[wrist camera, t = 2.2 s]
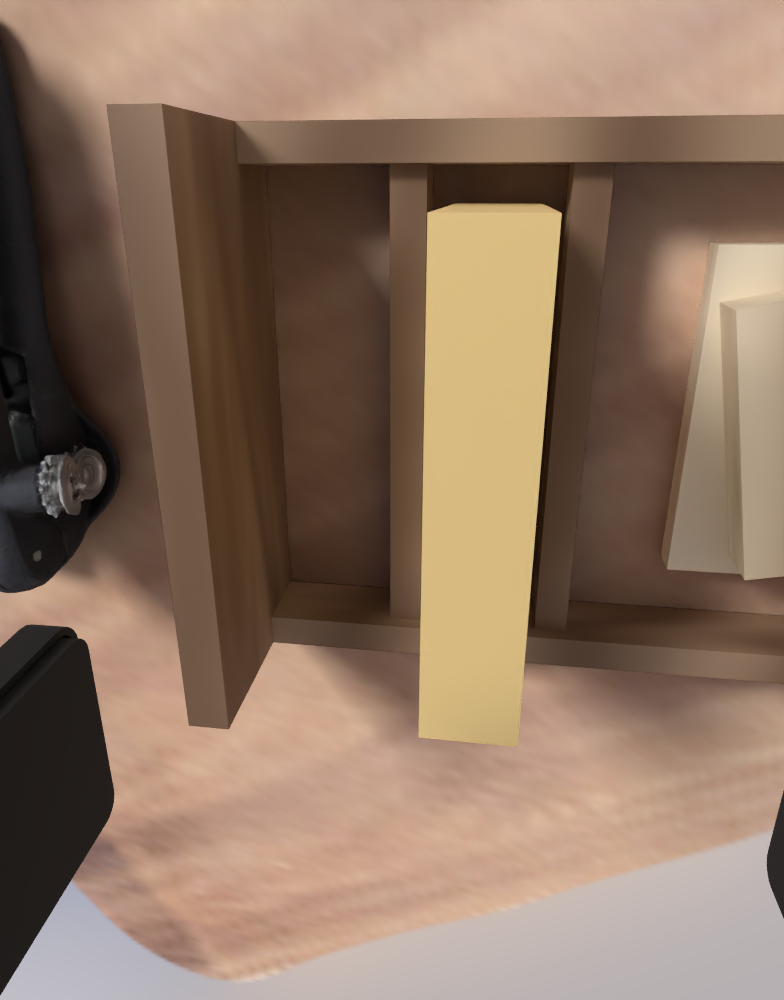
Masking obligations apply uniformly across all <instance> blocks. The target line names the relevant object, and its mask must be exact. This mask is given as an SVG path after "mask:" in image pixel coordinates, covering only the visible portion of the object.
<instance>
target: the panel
mask: <svg viewBox="0 0 784 1000" xmlns="http://www.w3.org/2000/svg"><path fill="white" fill-rule="evenodd" d="M561 217H562V213H561V212H559V211H556V210H554V209H552V208H550V207H548V206H546V205H544V204H542V203H455V204H452V205H449V206H446V207H443V208H440V209H437V210H434V211H431V212H428V213H427V270H426V329H425V388H424V446H423V505H422V564H421V623H420V681H419V737H420V738H431V739H441V740H451V741H462V742H472V743H482V744H493V745H503V746H513V747H518V737H519V724H520V712H521V700H522V688H523V676H524V664H525V652H526V640H527V628H528V616H529V604H530V592H531V579H532V567H533V555H534V543H535V531H536V519H537V507H538V495H539V483H540V471H541V459H542V447H543V434H544V422H545V410H546V398H547V386H548V374H549V362H550V350H551V338H552V326H553V314H554V302H555V289H556V277H557V265H558V253H559V241H560V229H561Z"/></svg>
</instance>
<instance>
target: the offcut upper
mask: <svg viewBox="0 0 784 1000" xmlns="http://www.w3.org/2000/svg"><path fill="white" fill-rule="evenodd" d="M719 305H720V330H721V356H722V382H723V407H724V433H725V459H726V484H727V510H728V536H729V557H730V558H731V560H732V561H733V563H734V564H735V566H736V568H737V569H738V571H739V572H740V574H741V576H742V577H743V579H744V580H753V579H763V578H772V577H782V576H784V291H780V292H775V293H769V294H763V295H757V296H752V297H746V298H740V299H734V300H728V301H723V302H719Z"/></svg>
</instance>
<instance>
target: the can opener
mask: <svg viewBox="0 0 784 1000" xmlns="http://www.w3.org/2000/svg"><path fill="white" fill-rule="evenodd" d="M119 479H120V462H119V458H118V455H117V452H116V450H115V448H114V446H113V445H112V443H111V442H110V440H109V439H108V438H107V436H106V435H105V434H104V433H103V432H102V431H101V429H100V428H99V427H98V426H97V425H96V424H95V423H94V422H93V421H92V420H91V419H90V418H89V417H88V416H87V415H86V414H85V413H84V412H83V411H82V410H81V409H80V408H79V406H78V405H77V404H76V403H75V401H74V399H73V398H72V396H71V394H70V392H69V389H68V387H67V385H66V383H65V380H64V378H63V376H62V373H61V370H60V368H59V366H58V363H57V360H56V356H55V352H54V350H53V346H52V342H51V338H50V332H49V328H48V322H47V314H46V305H45V299H44V291H43V281H42V271H41V264H40V256H39V247H38V238H37V231H36V223H35V215H34V206H33V199H32V191H31V185H30V179H29V172H28V166H27V161H26V156H25V149H24V144H23V139H22V133H21V128H20V123H19V119H18V115H17V110H16V106H15V101H14V96H13V92H12V88H11V84H10V80H9V75H8V72H7V68H6V64H5V60H4V57H3V53H2V49H1V45H0V592H5V593H17V592H22V591H27V590H31V589H34V588H36V587H38V586H42V585H43V584H45V583H46V582H47V581H48V580H50V579H51V578H52V577H53V576H54V575H55V574H56V572H57V571H58V570H59V569H60V568H61V567H62V566H64V565H65V564H66V563H67V562H68V561H69V559H70V558H71V557H72V556H73V555H74V553H75V552H76V550H77V549H78V547H79V545H80V544H81V542H82V540H83V538H84V535H85V533H86V531H87V529H88V527H89V526H90V524H91V523H92V522H93V521H94V520H95V519H96V518H97V517H98V516H99V515H100V513H101V512H102V511H103V510H104V509H105V508H106V507H107V505H108V504H109V503H110V501H111V499H112V498H113V496H114V494H115V492H116V489H117V487H118V484H119Z"/></svg>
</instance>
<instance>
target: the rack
mask: <svg viewBox="0 0 784 1000" xmlns="http://www.w3.org/2000/svg"><path fill="white" fill-rule="evenodd" d="M107 112H108V120H109V127H110V135H111V142H112V150H113V157H114V165H115V173H116V180H117V188H118V195H119V203H120V210H121V218H122V225H123V233H124V240H125V248H126V255H127V263H128V270H129V278H130V285H131V293H132V300H133V308H134V316H135V323H136V331H137V338H138V346H139V353H140V361H141V368H142V376H143V383H144V391H145V398H146V406H147V413H148V421H149V428H150V436H151V444H152V451H153V459H154V466H155V474H156V481H157V489H158V496H159V504H160V511H161V519H162V526H163V534H164V541H165V549H166V556H167V564H168V572H169V579H170V587H171V594H172V602H173V609H174V617H175V624H176V632H177V639H178V647H179V654H180V662H181V669H182V677H183V684H184V692H185V699H186V707H187V715H188V722H189V726H200V727H210V728H220V729H229V728H230V726H231V724H232V722H233V720H234V718H235V716H236V714H237V712H238V710H239V708H240V706H241V704H242V702H243V700H244V698H245V696H246V694H247V692H248V690H249V689H250V687H251V685H252V683H253V681H254V679H255V677H256V675H257V673H258V671H259V669H260V667H261V665H262V663H263V661H264V659H265V657H266V655H267V653H268V651H269V649H270V647H271V645H272V644H273V642H278V643H290V644H303V645H315V646H327V647H340V648H352V649H364V650H376V651H389V652H401V653H413V654H420V623H421V564H422V505H423V446H424V388H425V329H426V270H427V213H428V212H431V211H433V194H434V165H569V171H568V183H567V195H566V207H565V218H564V230H563V242H562V254H561V266H560V278H559V290H558V302H557V313H556V325H555V337H554V349H553V361H552V373H551V385H550V396H549V408H548V420H547V432H546V444H545V456H544V468H543V480H542V491H541V503H540V515H539V527H538V539H537V551H536V563H535V574H534V586H533V598H530V604H529V616H528V628H527V640H526V652H525V663H536V664H548V665H561V666H573V667H585V668H598V669H610V670H622V671H634V672H647V673H659V674H671V675H684V676H696V677H708V678H720V679H733V680H745V681H757V682H770V683H782V684H784V616H777V615H763V614H749V613H735V612H720V611H706V610H692V609H678V608H664V607H649V606H635V605H621V604H607V603H592V602H578V601H569V593H570V584H571V574H572V565H573V555H574V546H575V536H576V527H577V518H578V508H579V499H580V489H581V480H582V471H583V461H584V452H585V442H586V433H587V424H588V414H589V405H590V395H591V386H592V376H593V367H594V358H595V348H596V339H597V329H598V320H599V311H600V301H601V292H602V282H603V273H604V263H605V254H606V245H607V235H608V226H609V216H610V207H611V198H612V188H613V179H614V169H615V165H624V164H784V115H715V116H634V117H552V118H470V119H388V120H306V121H231V120H227V119H223V118H219V117H215V116H211V115H206V114H202V113H198V112H194V111H190V110H186V109H182V108H177V107H173V106H169V105H165V104H108V105H107ZM382 165H390V588H379V587H365V586H350V585H336V584H322V583H308V582H293V581H291V575H290V558H289V542H288V525H287V509H286V493H285V476H284V460H283V443H282V427H281V410H280V394H279V377H278V361H277V344H276V328H275V311H274V295H273V278H272V262H271V245H270V229H269V212H268V196H267V179H266V166H382Z"/></svg>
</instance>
